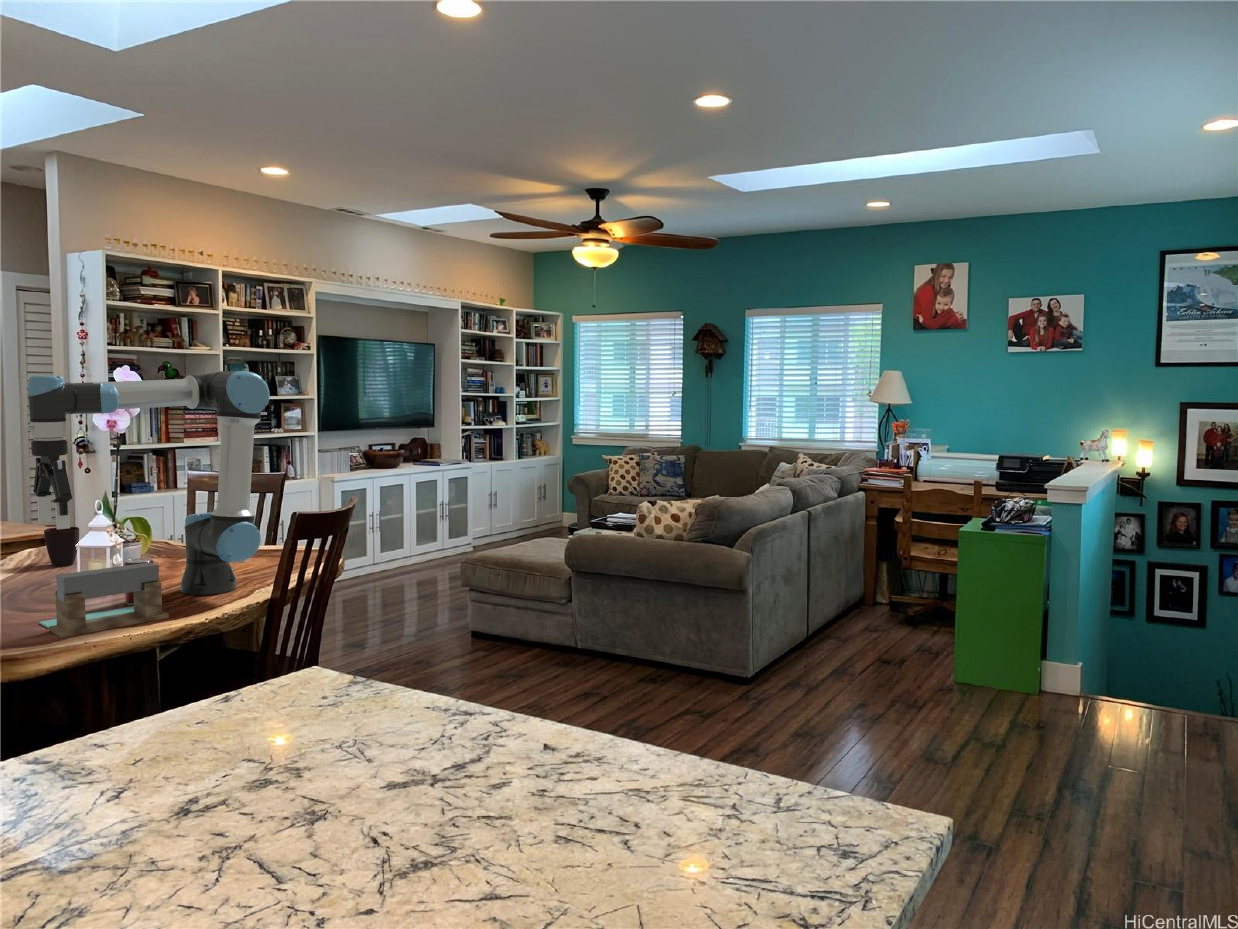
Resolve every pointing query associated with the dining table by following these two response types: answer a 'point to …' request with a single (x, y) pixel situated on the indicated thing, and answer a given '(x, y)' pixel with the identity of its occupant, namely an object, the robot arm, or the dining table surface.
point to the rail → (107, 580)
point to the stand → (75, 622)
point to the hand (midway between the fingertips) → (54, 525)
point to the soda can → (130, 596)
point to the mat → (93, 615)
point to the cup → (62, 545)
